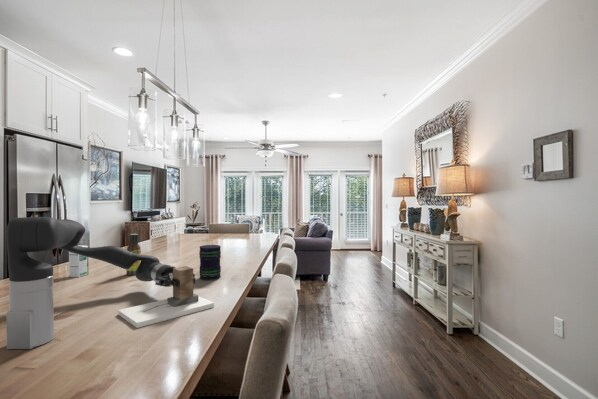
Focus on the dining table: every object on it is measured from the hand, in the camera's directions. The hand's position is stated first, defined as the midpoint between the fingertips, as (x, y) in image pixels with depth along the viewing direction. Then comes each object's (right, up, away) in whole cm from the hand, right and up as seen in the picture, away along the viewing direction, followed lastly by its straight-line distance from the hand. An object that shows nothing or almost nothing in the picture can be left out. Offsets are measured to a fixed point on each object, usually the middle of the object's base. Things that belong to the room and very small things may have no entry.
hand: (186, 282), depth 116 cm
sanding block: (-2, -7, +2) cm, 8 cm away
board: (-6, -9, -2) cm, 11 cm away
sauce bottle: (-44, -9, +51) cm, 68 cm away
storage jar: (-3, -9, +44) cm, 45 cm away
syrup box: (-69, -9, +48) cm, 84 cm away
